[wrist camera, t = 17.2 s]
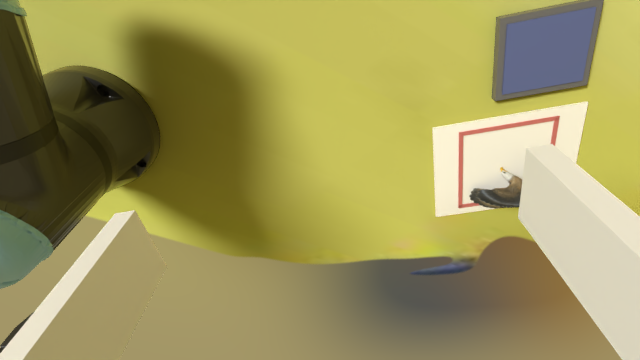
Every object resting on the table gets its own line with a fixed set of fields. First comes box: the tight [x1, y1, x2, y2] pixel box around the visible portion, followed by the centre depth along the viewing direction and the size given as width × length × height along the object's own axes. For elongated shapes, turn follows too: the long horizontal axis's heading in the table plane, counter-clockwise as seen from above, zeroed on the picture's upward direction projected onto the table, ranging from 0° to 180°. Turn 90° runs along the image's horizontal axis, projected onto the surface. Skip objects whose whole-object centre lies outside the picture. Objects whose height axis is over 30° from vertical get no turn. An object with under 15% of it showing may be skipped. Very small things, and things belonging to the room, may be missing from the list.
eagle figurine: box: [469, 167, 522, 208], centre depth 46 cm, size 8×7×9 cm
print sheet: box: [432, 101, 588, 217], centre depth 47 cm, size 18×14×1 cm
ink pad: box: [492, 0, 604, 101], centre depth 39 cm, size 10×9×1 cm
